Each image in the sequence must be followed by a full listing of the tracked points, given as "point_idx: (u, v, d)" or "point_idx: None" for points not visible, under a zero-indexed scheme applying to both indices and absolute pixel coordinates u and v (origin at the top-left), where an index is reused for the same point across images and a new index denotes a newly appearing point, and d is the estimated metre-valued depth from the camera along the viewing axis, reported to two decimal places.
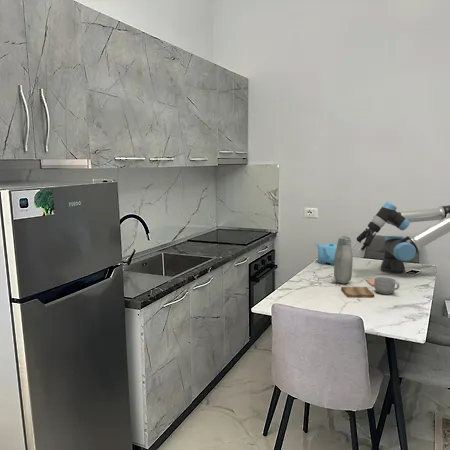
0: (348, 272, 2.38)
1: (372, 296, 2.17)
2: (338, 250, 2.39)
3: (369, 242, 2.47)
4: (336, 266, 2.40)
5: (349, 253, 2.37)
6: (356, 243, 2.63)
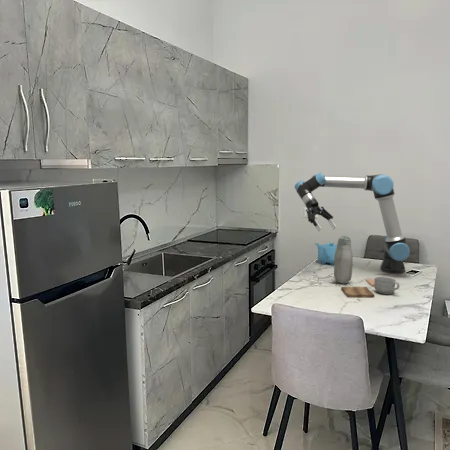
0: (348, 272, 2.38)
1: (372, 296, 2.17)
2: (338, 250, 2.39)
3: (309, 217, 2.48)
4: (336, 266, 2.40)
5: (349, 253, 2.37)
6: (330, 222, 2.56)
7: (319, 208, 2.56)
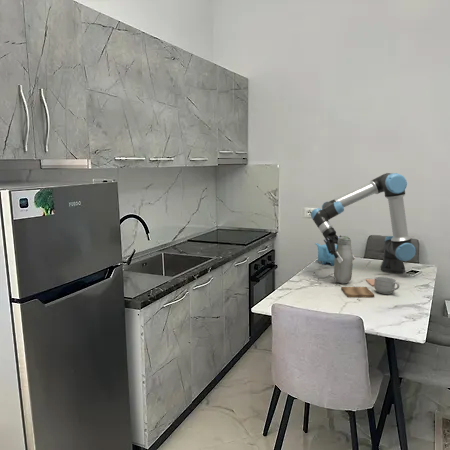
0: (348, 272, 2.38)
1: (372, 296, 2.17)
2: (338, 250, 2.39)
3: (329, 248, 2.39)
4: (336, 266, 2.40)
5: (349, 253, 2.37)
6: None
7: (337, 237, 2.46)
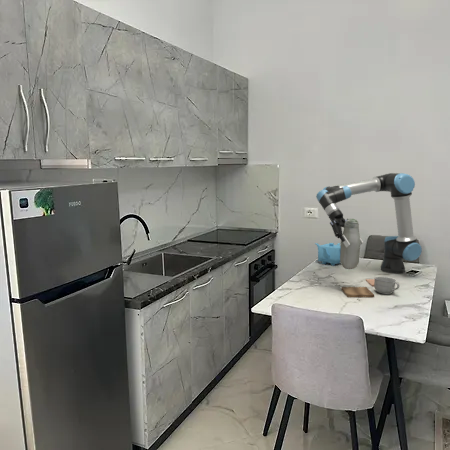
0: (356, 256, 2.24)
1: (372, 296, 2.17)
2: (345, 233, 2.25)
3: (335, 231, 2.25)
4: (342, 250, 2.26)
5: (357, 237, 2.23)
6: None
7: (344, 220, 2.32)
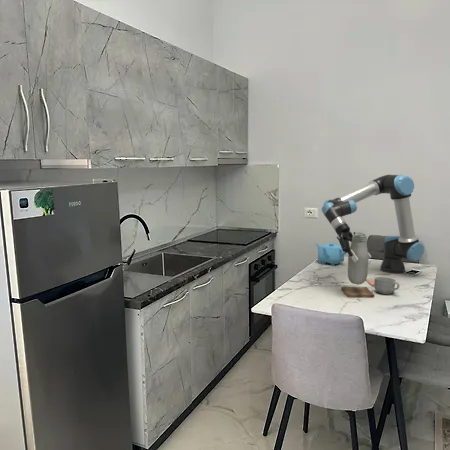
0: (364, 271, 2.18)
1: (372, 296, 2.17)
2: (353, 248, 2.19)
3: (343, 246, 2.19)
4: (350, 265, 2.20)
5: (365, 251, 2.17)
6: None
7: (351, 234, 2.26)
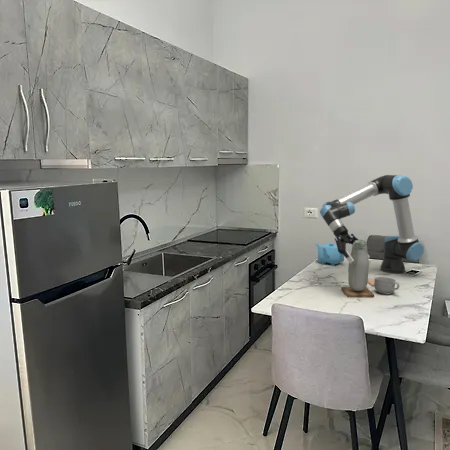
0: (364, 279, 2.18)
1: (372, 296, 2.17)
2: (353, 255, 2.19)
3: (339, 247, 2.19)
4: (351, 272, 2.20)
5: (365, 258, 2.17)
6: None
7: (349, 236, 2.27)
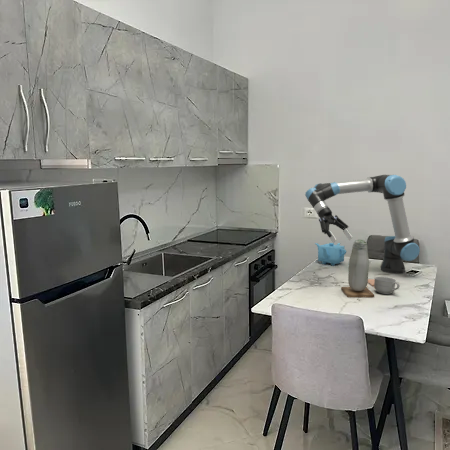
0: (364, 279, 2.18)
1: (372, 296, 2.17)
2: (353, 255, 2.19)
3: (322, 227, 2.28)
4: (351, 272, 2.20)
5: (365, 258, 2.17)
6: (345, 232, 2.35)
7: (333, 217, 2.36)
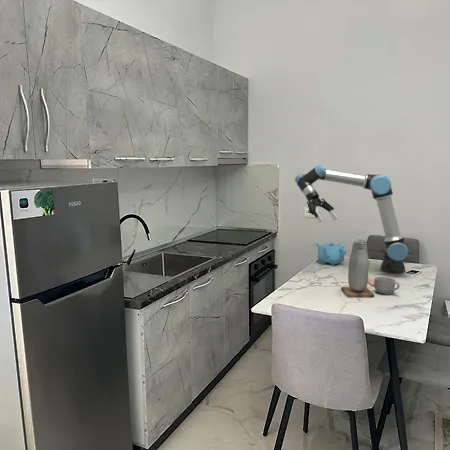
0: (364, 278, 2.18)
1: (372, 296, 2.17)
2: (353, 255, 2.20)
3: (310, 208, 2.51)
4: (351, 272, 2.21)
5: (365, 258, 2.17)
6: (331, 213, 2.58)
7: (320, 200, 2.59)
